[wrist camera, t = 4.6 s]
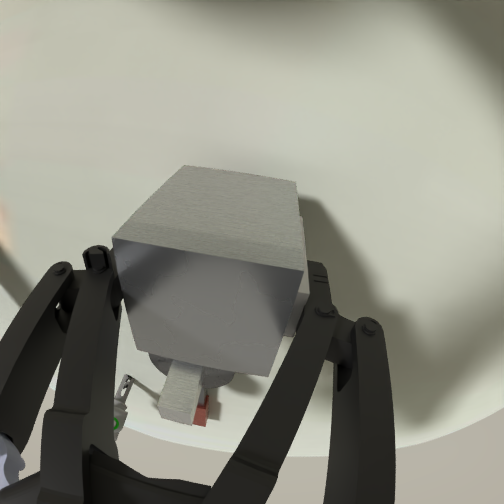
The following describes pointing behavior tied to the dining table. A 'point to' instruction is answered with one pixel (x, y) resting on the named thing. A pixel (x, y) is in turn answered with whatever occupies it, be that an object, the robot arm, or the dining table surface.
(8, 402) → the robot arm
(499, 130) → the dining table surface
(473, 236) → the dining table surface
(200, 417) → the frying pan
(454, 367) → the dining table surface
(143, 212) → the gray rectangular block
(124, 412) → the mechanical component
